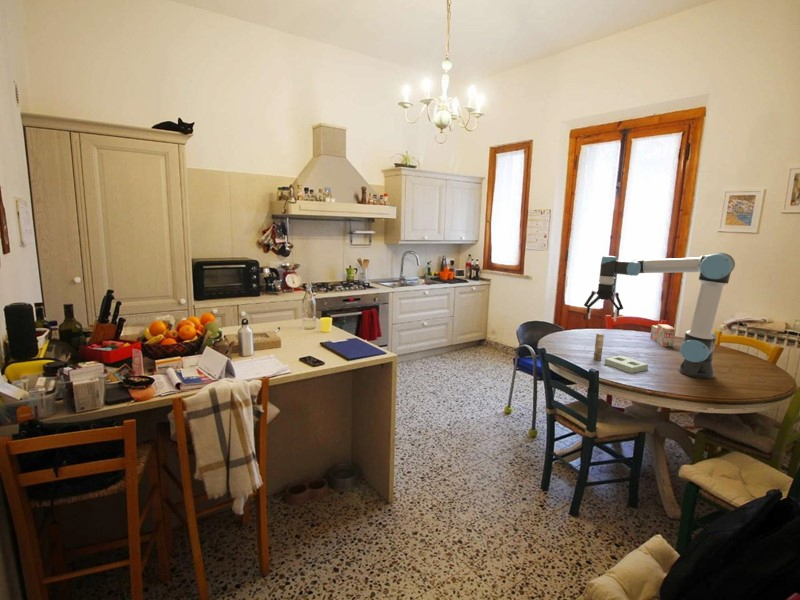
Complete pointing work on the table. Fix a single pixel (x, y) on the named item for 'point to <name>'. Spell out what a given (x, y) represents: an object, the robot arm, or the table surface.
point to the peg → (598, 346)
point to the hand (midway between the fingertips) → (601, 319)
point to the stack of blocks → (663, 334)
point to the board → (626, 364)
